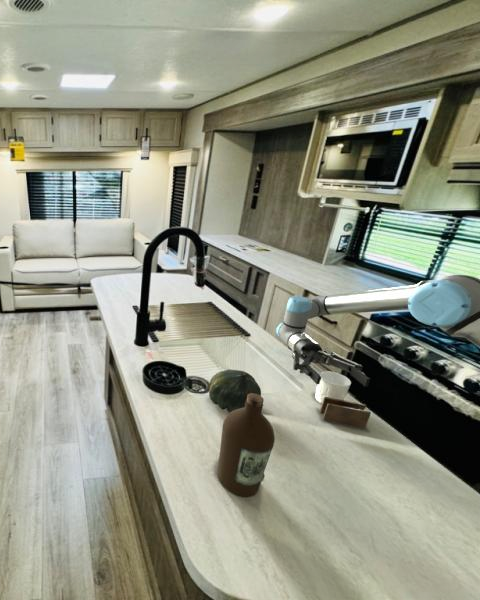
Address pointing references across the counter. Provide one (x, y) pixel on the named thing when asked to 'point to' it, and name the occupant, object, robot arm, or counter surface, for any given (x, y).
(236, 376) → the squash
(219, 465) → the olive oil
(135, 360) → the counter surface
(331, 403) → the holder
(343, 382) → the white cup
